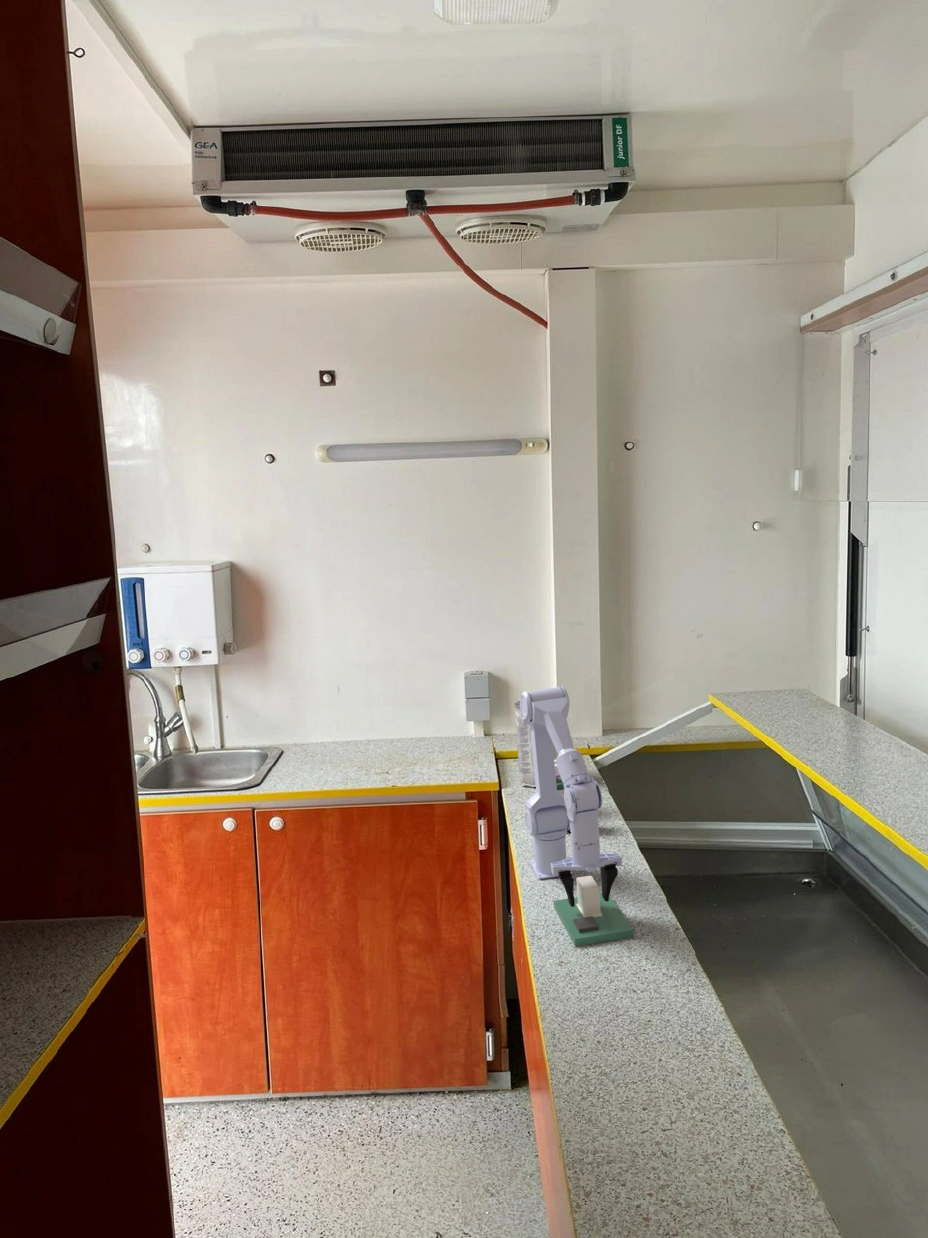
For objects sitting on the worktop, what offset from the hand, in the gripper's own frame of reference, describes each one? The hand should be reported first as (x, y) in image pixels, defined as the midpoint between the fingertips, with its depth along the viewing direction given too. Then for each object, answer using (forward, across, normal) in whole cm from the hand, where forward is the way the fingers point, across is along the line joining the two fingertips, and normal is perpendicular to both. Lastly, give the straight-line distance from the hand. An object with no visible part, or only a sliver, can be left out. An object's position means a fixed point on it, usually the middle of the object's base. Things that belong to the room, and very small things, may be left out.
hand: (588, 902), depth 181 cm
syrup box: (+3, +8, +55) cm, 56 cm away
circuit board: (+3, 0, -2) cm, 4 cm away
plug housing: (+2, 0, 0) cm, 2 cm away
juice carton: (+3, +9, +78) cm, 79 cm away
